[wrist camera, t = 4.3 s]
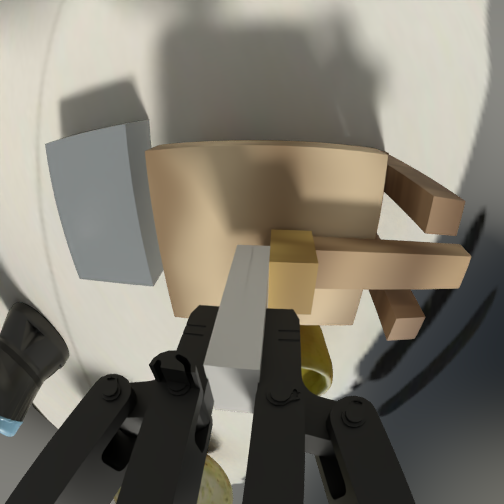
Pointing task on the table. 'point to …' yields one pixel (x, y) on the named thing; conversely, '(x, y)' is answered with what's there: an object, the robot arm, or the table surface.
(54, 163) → the block
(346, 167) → the lid
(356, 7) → the table surface
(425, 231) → the toolbox
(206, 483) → the speckled ball
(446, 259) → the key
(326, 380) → the mug
